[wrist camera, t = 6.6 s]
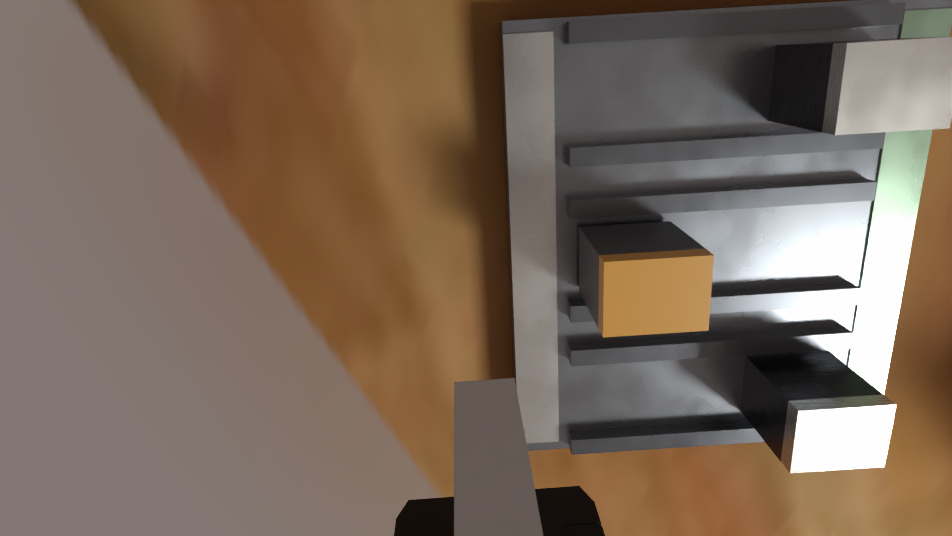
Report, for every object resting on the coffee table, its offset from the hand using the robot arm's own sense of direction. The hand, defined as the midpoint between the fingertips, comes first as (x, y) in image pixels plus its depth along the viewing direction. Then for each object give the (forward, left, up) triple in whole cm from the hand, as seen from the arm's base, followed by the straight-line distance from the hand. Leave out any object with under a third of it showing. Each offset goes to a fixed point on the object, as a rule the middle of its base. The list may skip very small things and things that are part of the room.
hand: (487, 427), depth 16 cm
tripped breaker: (0, +7, -12) cm, 14 cm away
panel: (0, +11, -14) cm, 18 cm away
